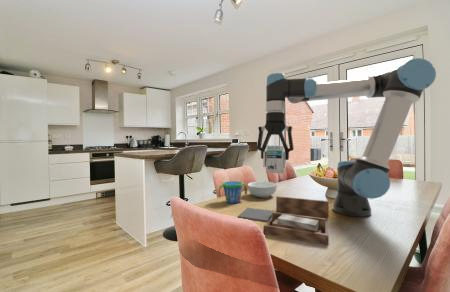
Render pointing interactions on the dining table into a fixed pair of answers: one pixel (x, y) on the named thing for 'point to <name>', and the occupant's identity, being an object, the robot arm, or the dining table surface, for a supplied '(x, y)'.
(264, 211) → the mat
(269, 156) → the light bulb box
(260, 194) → the cereal bowl
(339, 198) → the robot arm
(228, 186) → the snack cup
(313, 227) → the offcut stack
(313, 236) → the open wooden box
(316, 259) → the dining table surface
